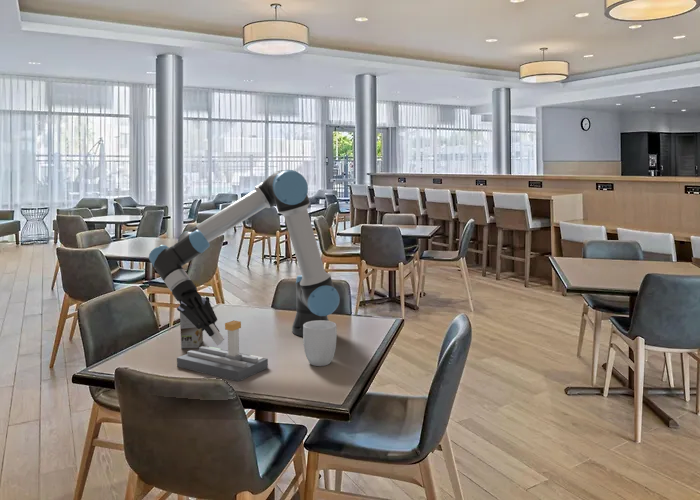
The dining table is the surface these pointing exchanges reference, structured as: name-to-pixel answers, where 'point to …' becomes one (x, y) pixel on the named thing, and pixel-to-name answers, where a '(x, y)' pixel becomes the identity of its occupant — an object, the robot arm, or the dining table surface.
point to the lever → (233, 340)
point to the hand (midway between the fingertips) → (220, 342)
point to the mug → (319, 341)
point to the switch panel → (221, 363)
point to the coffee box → (189, 333)
